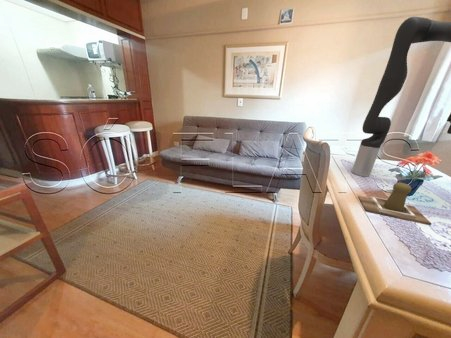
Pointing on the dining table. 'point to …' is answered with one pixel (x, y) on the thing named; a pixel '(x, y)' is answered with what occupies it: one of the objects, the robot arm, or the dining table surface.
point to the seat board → (378, 207)
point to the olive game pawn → (398, 197)
